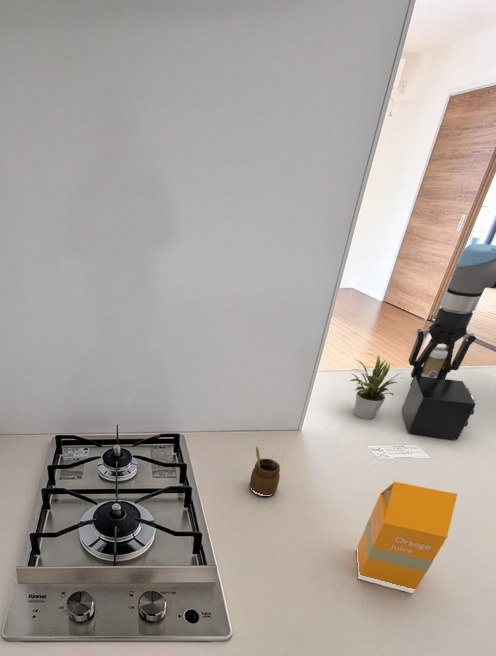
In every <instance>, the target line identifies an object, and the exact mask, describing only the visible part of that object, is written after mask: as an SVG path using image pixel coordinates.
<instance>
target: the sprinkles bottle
mask: <svg viewBox="0 0 496 656" xmlns="http://www.w3.org/2000/svg"><path fill="white" fill-rule="evenodd" d="M445 348H446V347H443V348H442V346H437V347H435V348H434V350H433V351H432V352H431V354H430V355H429V356H428V358H427V359H426V361H425V362H424V363H423V365H422V368H423V371H422V373H421V375H420V376H423V377H431V378H437V376H438V374H439V371H440V369H441V367H442V364H443V362H444V360H445V358H446V357H447V354H448V352H447V350H446V349H445Z"/></svg>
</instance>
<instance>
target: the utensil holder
mask: <svg viewBox="0 0 496 656" xmlns="http://www.w3.org/2000/svg"><path fill="white" fill-rule="evenodd" d="M283 452H284V450H283V449H281V448H278V449H276V450H274V451H273V453H272V456H271V458H261V456H260V455H261V454H260V449H259V448H258V446H257V445H255V455H256V459H257V461H256V462H255V464H254V468H253V469H252V471H251V475H250V479H249V480H250V482H249V488H250V487H251V488H252V490H254V491H255V492H257V493H260V494H263V495H271V494H274V493H275V494H276V492H277V490H278V487H279V482H280V476H281V475H280V471H281V466H280V465H281V463H282V462H283V461H284V458H285V457H282V456H283V455H280V453H283ZM277 453H278V454H277ZM275 455H277V456H275ZM279 455H280V457H279ZM280 458H281V460H280ZM277 460H279V461H277ZM275 494H274V495H275Z"/></svg>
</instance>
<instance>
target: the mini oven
mask: <svg viewBox="0 0 496 656" xmlns="http://www.w3.org/2000/svg"><path fill="white" fill-rule="evenodd" d="M412 380H413V379H412ZM411 382H412V381H411ZM475 401H476V399H475V398H474V396H473V394H472V392H471V391H470V389H469V387H467V386H466V385H465V382H464V381H463V380H457V379H447V378H445V379H440V378H431V377H423V376H415V377H414V380H413V382H412V385H411V387H409V390H408V392H407V394H406V397H405V399H404V401H403V403H402V404H403V405H402V406H401V411H402V415H403V418H404V422H405V424H406V429H407V432H408V433H410V434H417V435H418V434H419V435H425V436H432V437H438V438H445V439H448V440H459V437H460V436H461V435H462V432H463V431H464V429H465V428H466V427H468V425H469V419H470V417H471V416H473V415H474V414H475V408H476V405H477V404H476V402H475Z"/></svg>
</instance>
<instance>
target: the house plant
mask: <svg viewBox="0 0 496 656" xmlns="http://www.w3.org/2000/svg"><path fill="white" fill-rule="evenodd" d="M354 360H355V361H357V362H358V363H359V365H360V364H361V366H362V368H363V369H364V371H365V372H364V371H362V370H360V369H356V368H354V369H351V370H352V371H358V373H359V374H361V375H362V377H363V379H364V381H365V382H364V381H363V380H362V379H359V377H358V376H357V375H356V374H354V373H352V376H354V377H355V378H352V379H350V380H349V382H357V385H358V386H357V387H356V388H355V390H354V392H356V391H357V392H356V396H355V405H354V412H353V413H354V415H355V417H358V418H359V419H363V420H372V419H375V417H376V415H377V414H378V413H379V410H380V408H381V407H382V405H383V403H384V402H385V400H386V395H387V394H389V395H392V396H394V393H393V392H388V391H389V389H388V388H387V386H390V385H392V384H398V382H397V381H394V380H397V379H398V376H399V375H400V374H402V372H401V373H398V374H396V375H394V376H393V377H391V378H390V379H389V380H387V381H385V382H384V380H385V378H386V377H387V375H388V374H389V371H390V367H391V363H389V362H388V361H387V360H386V359H385V360H383V361H382V362H381V359H380V355H379V354H377V357H376V363H375V365H374V368H373V370H372V375H369V373H368V370H367V368H366V366H365V365H364V363H363V362H361V361H360V360H358V359H356V358H354ZM396 377H397V378H396ZM394 378H395V379H394ZM402 379H404V377H402ZM383 382H384V383H383ZM364 386H365V387H364ZM386 391H387V392H386Z"/></svg>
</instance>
